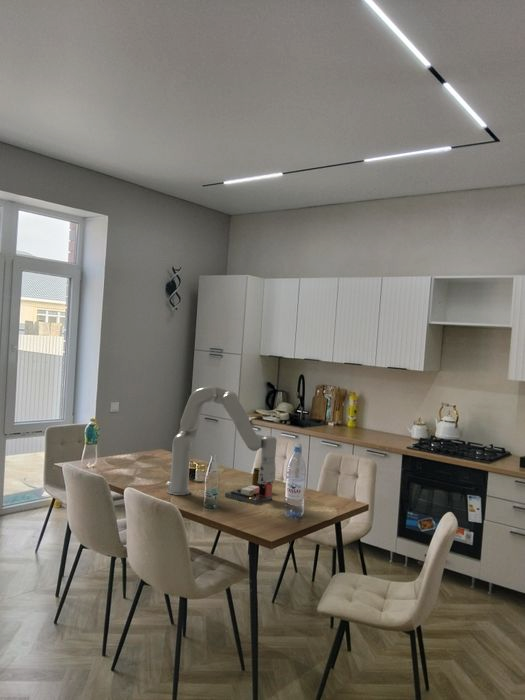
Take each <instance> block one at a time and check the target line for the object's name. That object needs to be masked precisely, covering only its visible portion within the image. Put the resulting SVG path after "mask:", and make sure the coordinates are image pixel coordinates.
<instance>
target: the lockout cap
mask: <svg viewBox="0 0 525 700" xmlns="http://www.w3.org/2000/svg"><path fill="white" fill-rule="evenodd" d="M262 484H264V483H262ZM259 492H260V487H259ZM272 492H273V483H272V484H270V483H266V484H265V496H264V497H268V496H271V495H272ZM258 495H259V494H258ZM260 496H263V495H260ZM272 496H273V495H272Z"/></svg>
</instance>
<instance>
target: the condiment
mask: <svg viewBox="0 0 525 700" xmlns="http://www.w3.org/2000/svg"><path fill="white" fill-rule="evenodd" d="M259 469H260V467H255V468H253V473H252V480H251V485H254V486H258V487H259V484H258V480H259V479H258V478H259Z"/></svg>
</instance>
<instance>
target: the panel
mask: <svg viewBox="0 0 525 700" xmlns="http://www.w3.org/2000/svg"><path fill="white" fill-rule="evenodd" d="M241 489H242V488H238V489H235V490H232V491H228V492H225V494H224V497H225V498H229V499H232V500H236V501H240V500H241V502H244V503H248V504H251V505H255V506H257V505H260V504H262V502H263V503H266V502H268V500H269V501H271V500H270V499H272V500H273V495H271V496H268V497H264V496H260V495H258V494H259V493H257V494H255V493H254V495H252V496H248V495H244V494H241ZM265 501H266V502H265Z"/></svg>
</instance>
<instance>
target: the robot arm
mask: <svg viewBox="0 0 525 700" xmlns="http://www.w3.org/2000/svg"><path fill="white" fill-rule="evenodd" d="M207 403H215V404H219V405H222V407H223V408H224V409H225V412H227V414H228V416H229V418H230V419H231V421H232V423H233V424H234V426H235V428H236V430H237V432H238V433H239V436H240V437H241V439H242V440H243V442H244V443H245V445H246V447H247V449H248V450H249V451H252V452H257V451H258V450H260V449H261V453H260V455H261V456H260V464H259V468H260V469H259V478H258V479H259V480H258V484H259V487H260V492H259V495H263V496H265V484H266V483H270V484H272V485H273V482H274V481H275V480H276V471H277V470H276V469H277V468H276V454H277V453H276V452H277V443H278V442H277V441H278V439H277V438H276V437H275V436H272V435H271V436H270V435H262V434H261V435H260V434H257V433H256V431H255V429H254V428H253V426H252V424H251V421H250V417H249V414H248V413H247V411H246V410H245V409H244V407H243V406H242V404H241V402H240V400H239V396H238V394H237V393H236V392H235V391H231V390H228V389H225V388H220V387H217V386H214V385H208V386H205V387H201V388H198V389H197V388H196V390H194V391H193V392H192V393H191V394H190V395H189V397H188V400H187V402H186V405H185V408H184V410H183V413H182V416H181V418H180V422H179V423H180V424H179V425H180V427H179V430H178V433H177V434H176V435H175V436H174V437H173V440H172V442H171V451H172V452H171V453H172V454H171V467H170V468H171V469H170V480H169V481H167V482H166V483H165V484H164V485H165V486H166V487H168V488H167V489H166V492H167V494H169V495H172V494H173V495H174V496H187V495H189V493H190V492H192V491H191V489H189V479H190V478H189V477H190V462H191V461H190V460H191V446H192V445H193V444H194V442H195V440H196V437H197V434H198V430H199V427H200V424H201V418H200V416H201V412H202V409H203V408H204V407H203V406H204V405H205V404H207ZM262 483H264V484H262ZM186 494H187V495H186ZM190 494H191V493H190Z"/></svg>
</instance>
